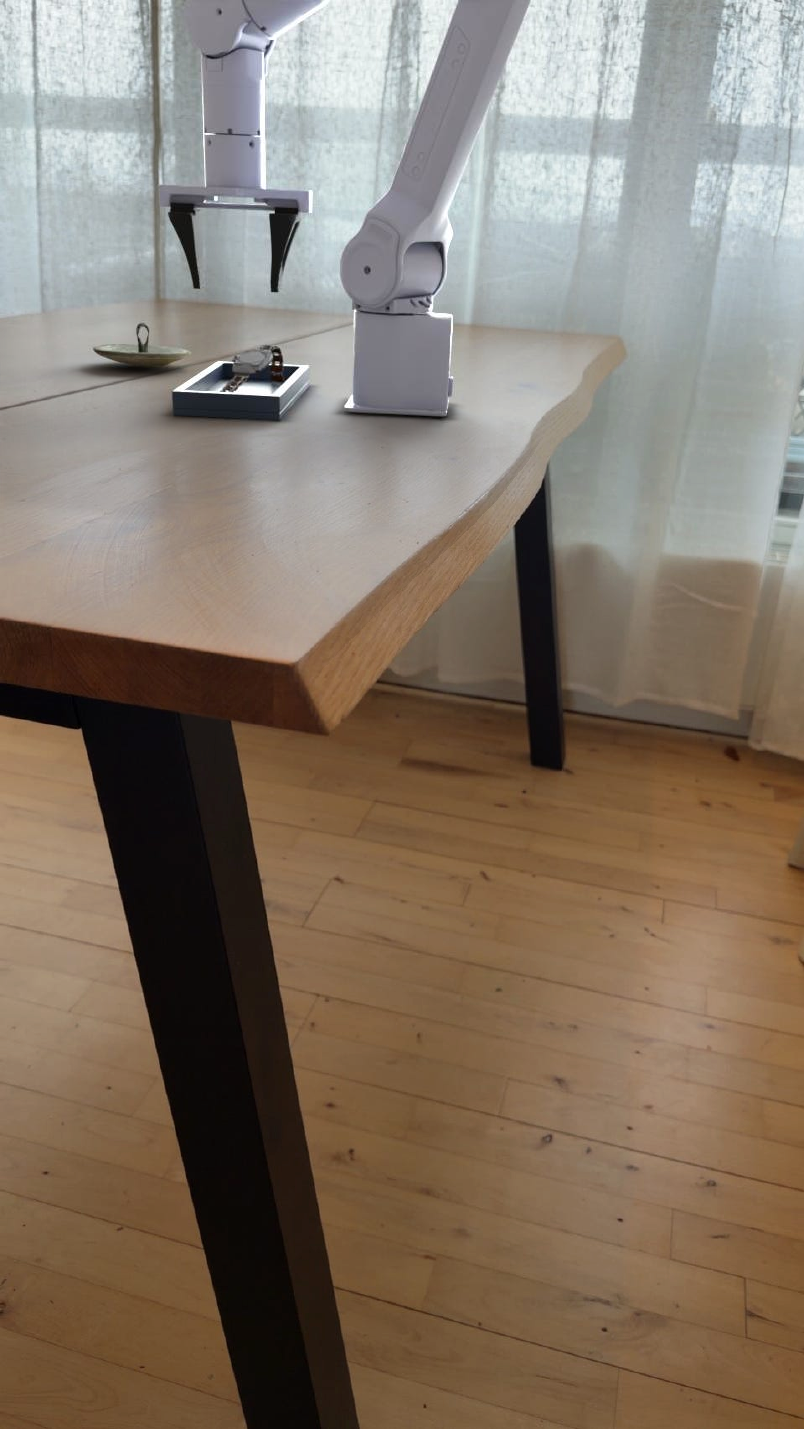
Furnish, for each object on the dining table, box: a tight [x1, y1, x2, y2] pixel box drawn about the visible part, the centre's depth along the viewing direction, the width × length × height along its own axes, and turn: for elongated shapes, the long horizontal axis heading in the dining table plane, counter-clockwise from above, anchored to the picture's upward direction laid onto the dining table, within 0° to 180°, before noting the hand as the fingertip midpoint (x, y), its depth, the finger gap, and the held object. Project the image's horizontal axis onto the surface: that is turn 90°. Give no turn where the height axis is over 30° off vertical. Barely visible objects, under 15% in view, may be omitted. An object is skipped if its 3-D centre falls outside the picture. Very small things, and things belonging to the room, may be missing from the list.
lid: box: [92, 322, 192, 368], centre depth 126 cm, size 11×10×5 cm
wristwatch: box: [220, 343, 285, 393], centre depth 110 cm, size 4×14×5 cm, turn 162°
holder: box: [171, 361, 310, 421], centre depth 110 cm, size 20×10×2 cm, turn 177°
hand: (237, 290), depth 113 cm, fingers open, 7 cm apart
